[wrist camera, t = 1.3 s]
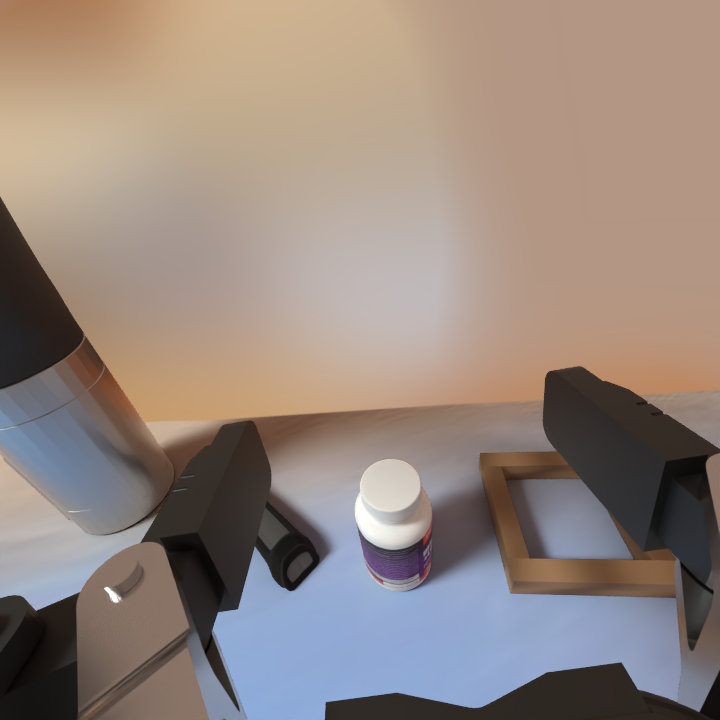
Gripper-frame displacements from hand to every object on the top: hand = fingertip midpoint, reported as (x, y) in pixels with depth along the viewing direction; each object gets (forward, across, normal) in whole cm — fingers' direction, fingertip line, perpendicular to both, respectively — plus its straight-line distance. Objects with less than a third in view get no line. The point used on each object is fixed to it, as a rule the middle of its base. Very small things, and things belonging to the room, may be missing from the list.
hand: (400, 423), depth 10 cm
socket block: (+12, -13, +21) cm, 27 cm away
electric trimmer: (+16, +14, +20) cm, 29 cm away
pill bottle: (+11, +1, +21) cm, 24 cm away
